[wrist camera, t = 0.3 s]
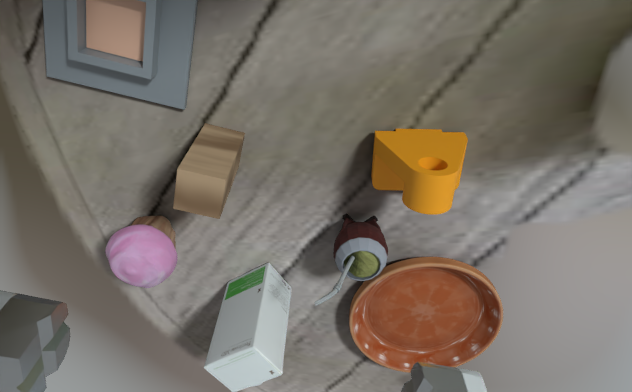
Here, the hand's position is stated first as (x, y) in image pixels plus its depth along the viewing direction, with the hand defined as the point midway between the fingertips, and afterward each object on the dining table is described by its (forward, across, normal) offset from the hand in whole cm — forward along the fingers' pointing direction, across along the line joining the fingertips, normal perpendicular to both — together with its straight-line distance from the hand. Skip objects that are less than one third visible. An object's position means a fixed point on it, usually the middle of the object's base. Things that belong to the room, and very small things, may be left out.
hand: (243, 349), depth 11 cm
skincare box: (+46, 0, +40) cm, 61 cm away
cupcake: (+46, +15, +33) cm, 58 cm away
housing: (+45, +20, +5) cm, 50 cm away
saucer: (+46, -26, +39) cm, 66 cm away
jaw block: (+46, +8, +18) cm, 50 cm away
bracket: (+46, -16, +14) cm, 51 cm away
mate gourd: (+46, -12, +27) cm, 54 cm away
